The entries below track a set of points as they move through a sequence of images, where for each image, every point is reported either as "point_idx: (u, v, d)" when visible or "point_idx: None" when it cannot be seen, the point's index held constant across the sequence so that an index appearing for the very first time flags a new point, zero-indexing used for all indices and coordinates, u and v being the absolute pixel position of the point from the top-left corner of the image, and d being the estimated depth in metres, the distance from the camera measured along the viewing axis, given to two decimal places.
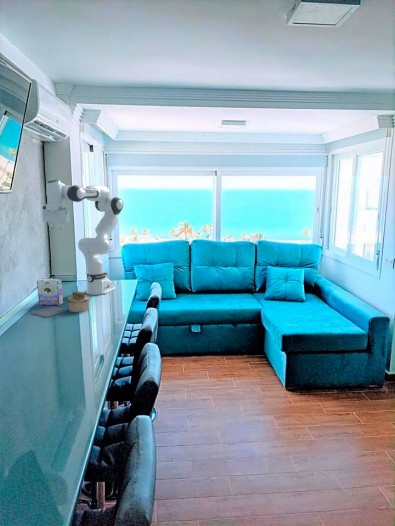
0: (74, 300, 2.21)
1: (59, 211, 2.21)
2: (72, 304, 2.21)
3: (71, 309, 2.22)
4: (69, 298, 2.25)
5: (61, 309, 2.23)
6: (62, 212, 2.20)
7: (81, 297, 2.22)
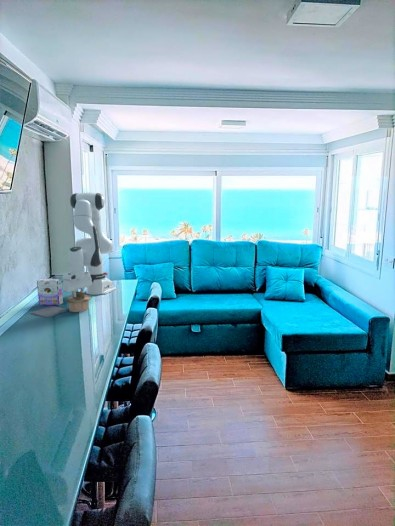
0: (74, 300, 2.21)
1: (86, 276, 2.26)
2: (72, 304, 2.21)
3: (71, 309, 2.22)
4: (69, 298, 2.25)
5: (61, 309, 2.23)
6: (89, 276, 2.29)
7: (81, 297, 2.22)
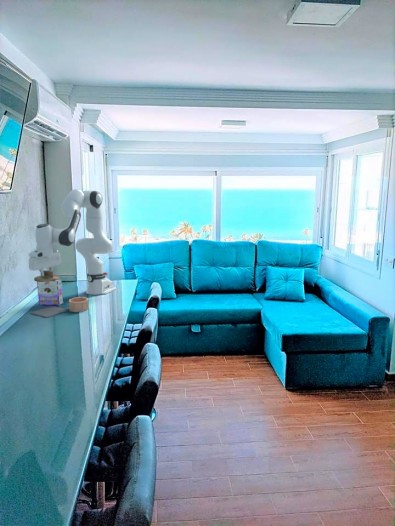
0: (42, 279, 2.12)
1: (55, 255, 2.18)
2: (72, 304, 2.21)
3: (71, 309, 2.22)
4: (37, 277, 2.16)
5: (61, 309, 2.23)
6: (58, 255, 2.20)
7: (49, 276, 2.14)
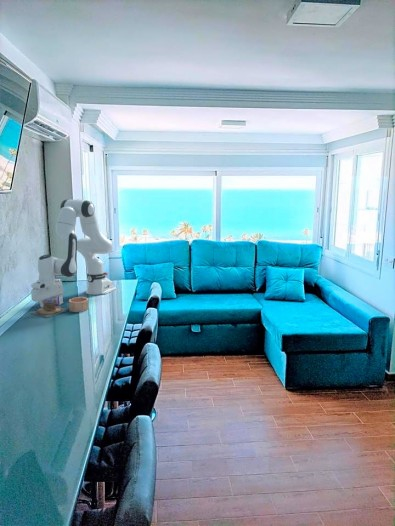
0: (44, 311, 2.16)
1: (57, 284, 2.21)
2: (72, 304, 2.21)
3: (71, 309, 2.22)
4: (39, 309, 2.20)
5: None
6: (60, 284, 2.24)
7: (52, 308, 2.18)
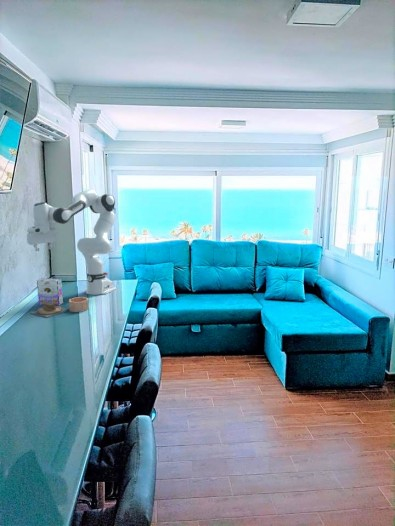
0: (44, 311, 2.16)
1: (51, 231, 2.37)
2: (72, 304, 2.21)
3: (71, 309, 2.22)
4: (39, 309, 2.20)
5: None
6: (54, 232, 2.39)
7: (52, 308, 2.18)
